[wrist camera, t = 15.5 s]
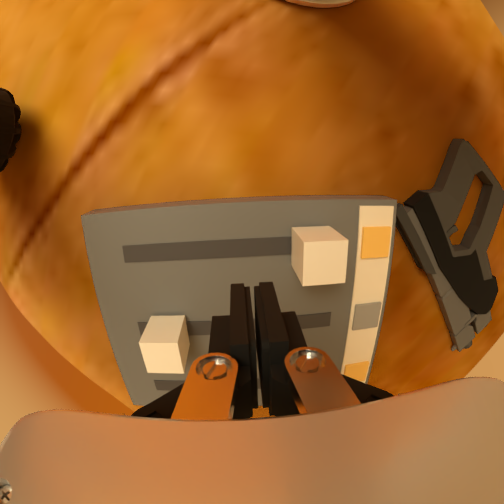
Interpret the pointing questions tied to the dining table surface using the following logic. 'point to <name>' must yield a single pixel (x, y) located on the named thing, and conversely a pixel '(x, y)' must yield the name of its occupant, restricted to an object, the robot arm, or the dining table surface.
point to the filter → (8, 127)
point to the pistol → (456, 256)
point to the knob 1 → (165, 344)
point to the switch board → (237, 274)
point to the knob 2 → (319, 255)
